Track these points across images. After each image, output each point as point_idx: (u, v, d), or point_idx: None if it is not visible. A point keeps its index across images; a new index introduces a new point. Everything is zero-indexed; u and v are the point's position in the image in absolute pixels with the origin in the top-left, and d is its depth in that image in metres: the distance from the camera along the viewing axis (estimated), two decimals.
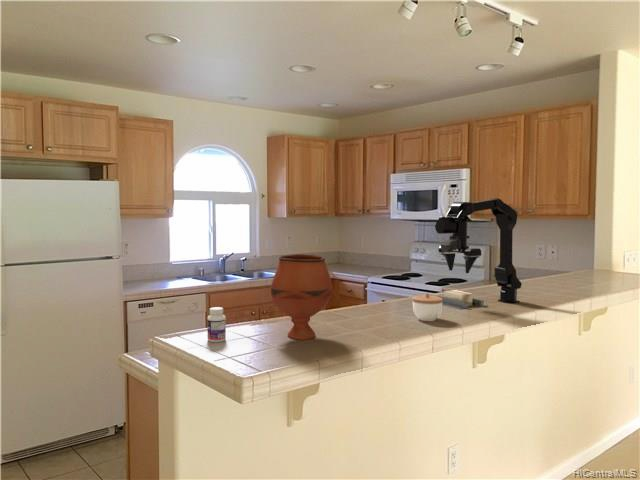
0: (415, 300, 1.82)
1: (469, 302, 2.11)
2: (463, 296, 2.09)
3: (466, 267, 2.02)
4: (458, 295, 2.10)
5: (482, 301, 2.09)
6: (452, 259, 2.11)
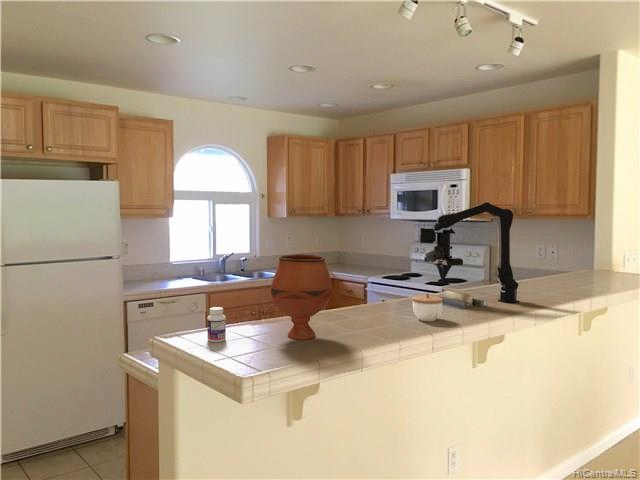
0: (415, 300, 1.82)
1: (469, 302, 2.10)
2: (462, 296, 2.09)
3: (442, 274, 2.21)
4: (457, 295, 2.10)
5: (482, 301, 2.09)
6: None
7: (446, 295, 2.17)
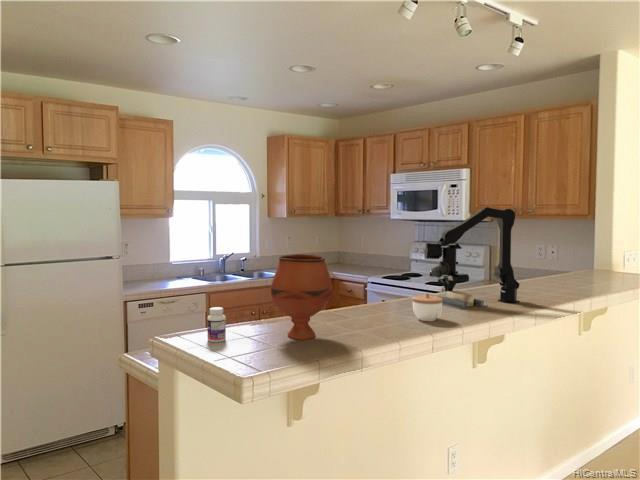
0: (415, 300, 1.82)
1: (470, 302, 2.10)
2: (464, 296, 2.09)
3: (447, 290, 2.18)
4: (459, 295, 2.10)
5: (482, 301, 2.09)
6: None
7: (447, 295, 2.17)
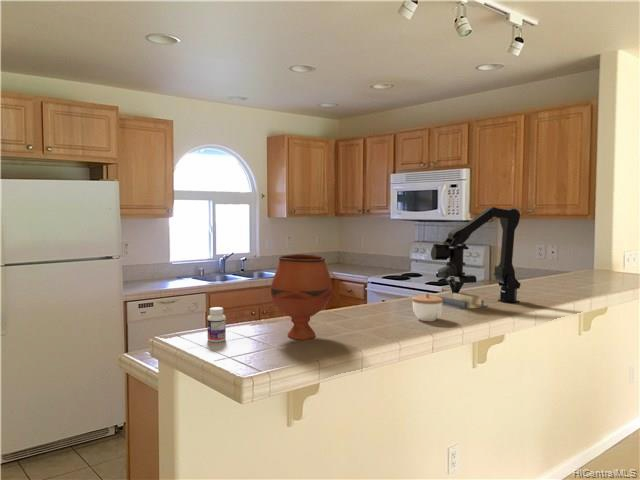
0: (415, 300, 1.82)
1: (478, 304, 2.07)
2: (472, 298, 2.05)
3: (454, 291, 2.15)
4: (467, 297, 2.06)
5: (482, 301, 2.09)
6: None
7: (454, 297, 2.13)
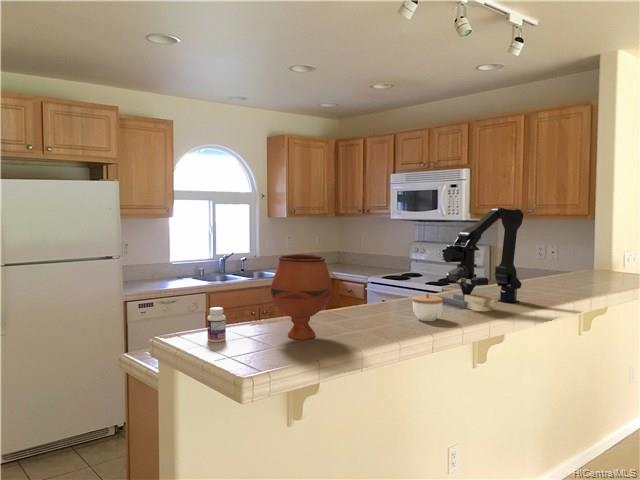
0: (415, 300, 1.82)
1: (491, 306, 2.01)
2: (484, 300, 1.99)
3: (465, 294, 2.09)
4: (479, 299, 2.00)
5: None
6: None
7: (466, 299, 2.07)
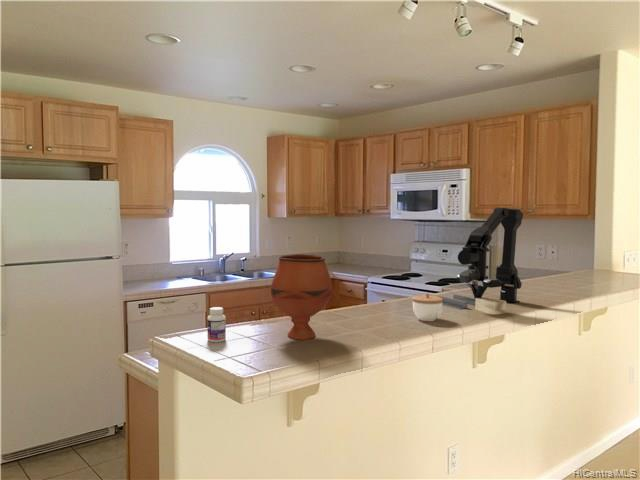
0: (415, 300, 1.82)
1: (503, 310, 1.96)
2: (496, 304, 1.94)
3: (477, 296, 2.04)
4: (491, 303, 1.95)
5: None
6: None
7: (477, 303, 2.02)
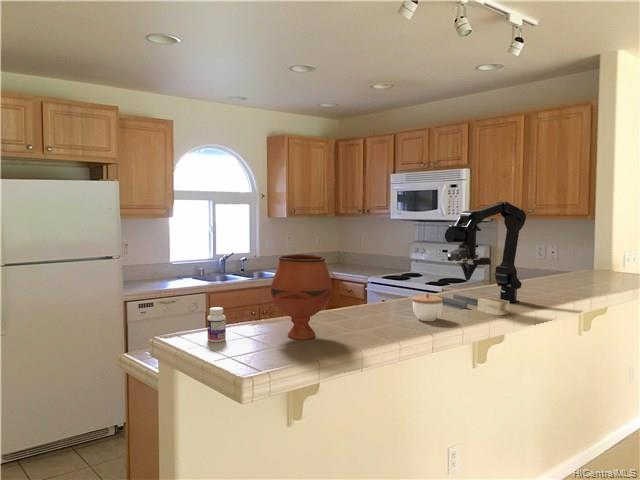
0: (415, 300, 1.82)
1: (506, 310, 1.95)
2: (501, 304, 1.93)
3: (467, 274, 2.08)
4: (495, 303, 1.94)
5: None
6: None
7: (479, 303, 2.00)
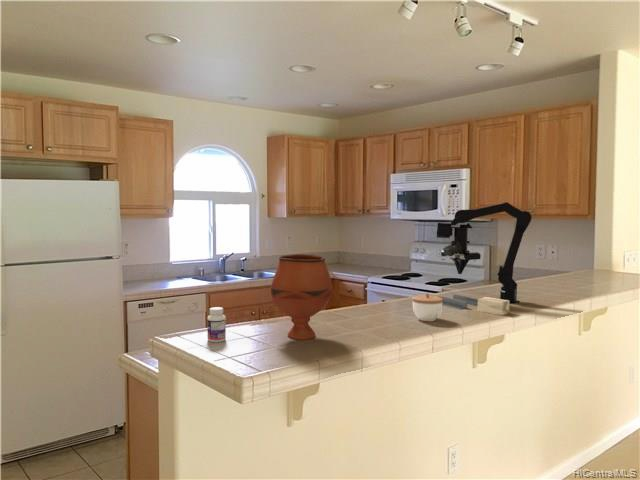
0: (415, 300, 1.82)
1: (507, 310, 1.96)
2: (503, 304, 1.93)
3: (459, 268, 2.23)
4: (497, 303, 1.94)
5: None
6: None
7: (479, 303, 1.99)
